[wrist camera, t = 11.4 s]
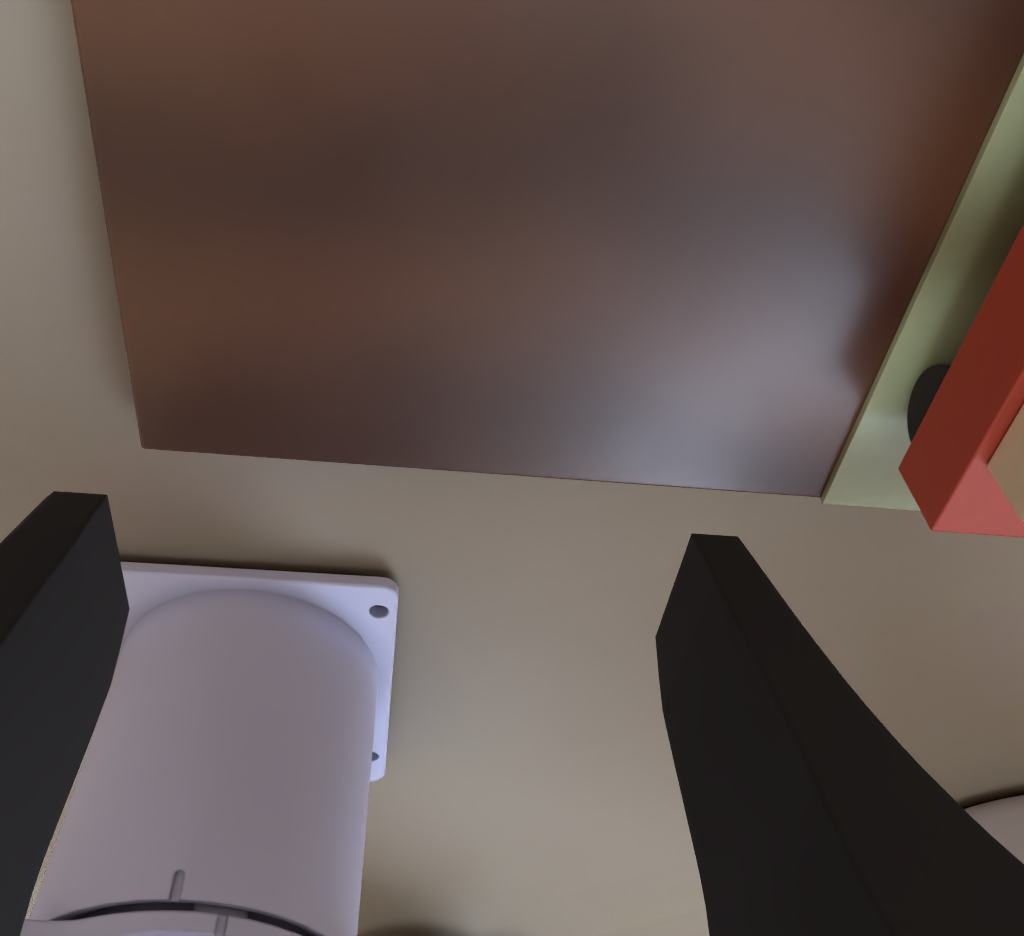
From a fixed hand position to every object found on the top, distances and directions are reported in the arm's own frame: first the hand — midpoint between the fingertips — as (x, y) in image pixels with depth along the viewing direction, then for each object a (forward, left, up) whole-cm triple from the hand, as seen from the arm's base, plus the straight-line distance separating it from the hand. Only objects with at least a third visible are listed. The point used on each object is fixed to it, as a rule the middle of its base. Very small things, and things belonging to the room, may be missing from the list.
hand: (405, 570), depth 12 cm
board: (+1, -5, -9) cm, 11 cm away
